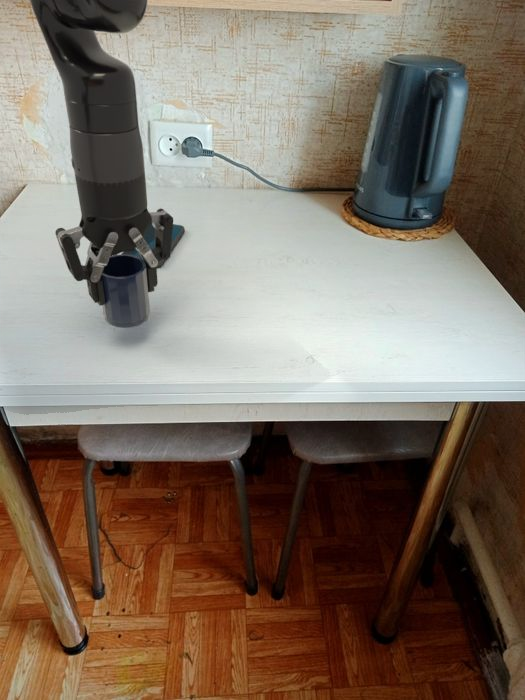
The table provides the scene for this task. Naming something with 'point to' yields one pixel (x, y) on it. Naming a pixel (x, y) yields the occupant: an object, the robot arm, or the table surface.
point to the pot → (125, 291)
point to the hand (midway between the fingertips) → (125, 295)
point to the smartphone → (150, 237)
